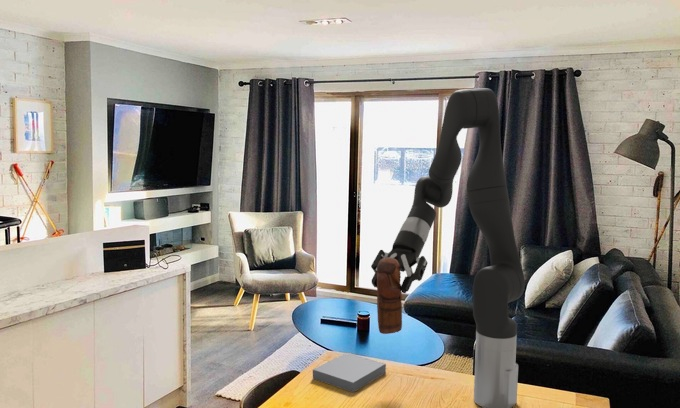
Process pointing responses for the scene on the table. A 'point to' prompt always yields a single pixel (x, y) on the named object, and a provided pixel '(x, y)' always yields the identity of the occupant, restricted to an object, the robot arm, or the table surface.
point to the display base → (349, 371)
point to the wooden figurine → (389, 296)
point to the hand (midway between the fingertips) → (388, 288)
